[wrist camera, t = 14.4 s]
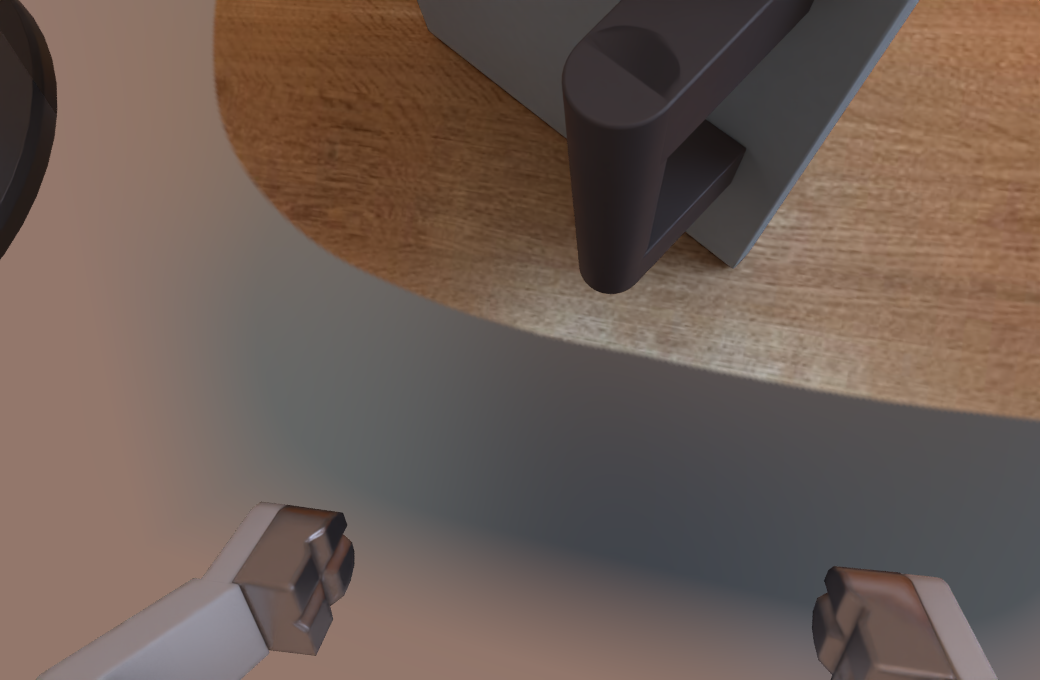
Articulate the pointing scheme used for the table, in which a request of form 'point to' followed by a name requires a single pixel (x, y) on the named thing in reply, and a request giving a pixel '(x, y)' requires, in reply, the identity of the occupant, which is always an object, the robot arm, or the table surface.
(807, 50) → the cabinet door
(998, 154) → the table surface
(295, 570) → the robot arm
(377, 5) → the table surface
